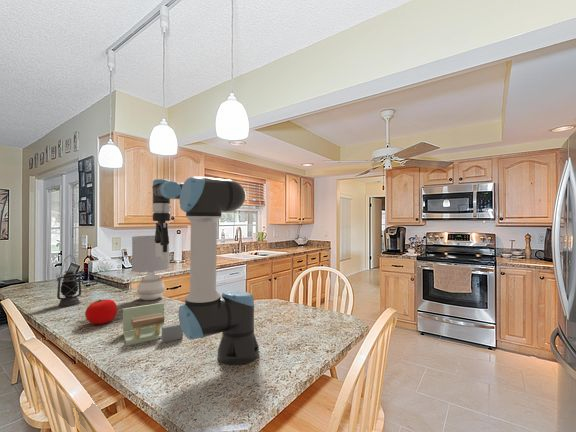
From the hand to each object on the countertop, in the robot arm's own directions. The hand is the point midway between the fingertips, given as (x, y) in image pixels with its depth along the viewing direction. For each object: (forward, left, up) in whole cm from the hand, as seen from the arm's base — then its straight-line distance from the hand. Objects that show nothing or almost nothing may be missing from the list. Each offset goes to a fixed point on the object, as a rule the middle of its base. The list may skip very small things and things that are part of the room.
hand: (161, 258), depth 137 cm
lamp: (+60, -5, -33) cm, 69 cm away
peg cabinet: (-5, +7, -33) cm, 34 cm away
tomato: (+25, +23, -33) cm, 47 cm away
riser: (-17, -1, -33) cm, 37 cm away
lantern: (+75, +38, -33) cm, 90 cm away
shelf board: (-8, +7, -27) cm, 29 cm away
